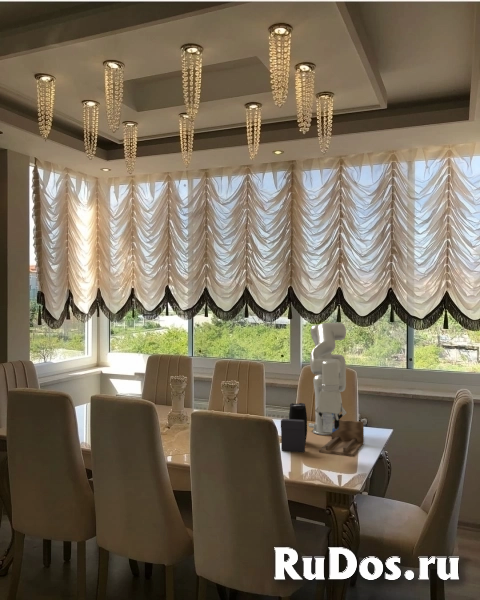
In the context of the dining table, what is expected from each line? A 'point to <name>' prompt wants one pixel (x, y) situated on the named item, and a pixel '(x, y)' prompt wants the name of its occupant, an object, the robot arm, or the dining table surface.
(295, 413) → the portable speaker
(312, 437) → the dining table surface
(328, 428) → the medicine box
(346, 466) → the dining table surface
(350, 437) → the book rack
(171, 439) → the dining table surface
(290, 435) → the calculator
